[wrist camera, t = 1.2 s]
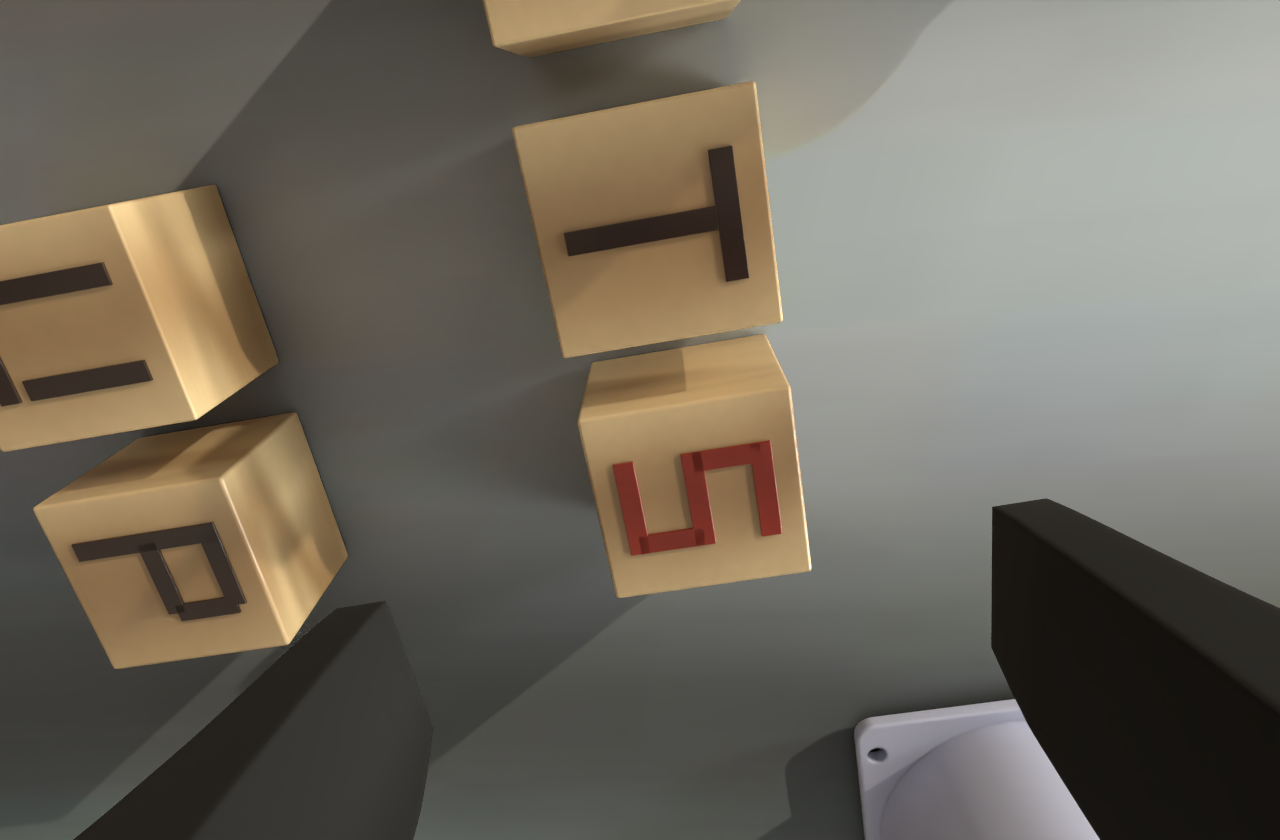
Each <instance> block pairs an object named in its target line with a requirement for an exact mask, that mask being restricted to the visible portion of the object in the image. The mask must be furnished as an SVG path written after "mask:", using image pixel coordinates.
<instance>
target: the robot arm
mask: <svg viewBox="0 0 1280 840" xmlns="http://www.w3.org/2000/svg"><path fill="white" fill-rule="evenodd" d="M991 647H992V650H993V652H994V654H995V656H996V658H997V661H998V663H999V665H1000V667H1001V669H1002V672H1003V674H1004V676H1005V678H1006V680H1007V683H1008V685H1009V687H1010V689H1011V691H1012V693H1013V695H1014V697H1015V699H1011V700H1003V701H995V702H987V703H979V704H971V705H964V706H956V707H948V708H940V709H932V710H924V711H916V712H908V713H900V714H892V715H884V716H877V717H870V718H867V719H864V720H862V721H861V722H859V723H858V724H857V726H856V727H855V731H854V739H855V749H856V758H857V768H858V778H859V788H860V798H861V807H862V817H863V827H864V837H865V840H1280V608H1278V607H1276V606H1274V605H1271V604H1269V603H1267V602H1265V601H1262V600H1260V599H1258V598H1256V597H1254V596H1251V595H1249V594H1247V593H1245V592H1243V591H1240V590H1238V589H1236V588H1234V587H1232V586H1230V585H1228V584H1225V583H1223V582H1221V581H1219V580H1217V579H1215V578H1213V577H1211V576H1208V575H1206V574H1204V573H1202V572H1200V571H1198V570H1196V569H1194V568H1192V567H1190V566H1188V565H1185V564H1183V563H1181V562H1179V561H1177V560H1175V559H1173V558H1171V557H1169V556H1167V555H1165V554H1163V553H1161V552H1159V551H1157V550H1155V549H1153V548H1151V547H1149V546H1147V545H1144V544H1142V543H1140V542H1138V541H1136V540H1134V539H1132V538H1130V537H1128V536H1126V535H1124V534H1122V533H1120V532H1118V531H1116V530H1114V529H1112V528H1110V527H1108V526H1106V525H1104V524H1102V523H1100V522H1098V521H1096V520H1093V519H1091V518H1089V517H1087V516H1085V515H1083V514H1081V513H1079V512H1077V511H1075V510H1072V509H1070V508H1068V507H1066V506H1063V505H1061V504H1059V503H1056V502H1054V501H1051V500H1049V499H1040V500H1034V501H1027V502H1021V503H1014V504H1008V505H1001V506H995V507H992V636H991ZM432 733H433V727H432V724H431V721H430V718H429V716H428V713H427V710H426V708H425V705H424V702H423V700H422V697H421V694H420V692H419V689H418V686H417V684H416V681H415V678H414V676H413V673H412V670H411V668H410V665H409V662H408V659H407V657H406V654H405V651H404V649H403V646H402V643H401V641H400V638H399V635H398V633H397V630H396V627H395V625H394V622H393V619H392V617H391V614H390V611H389V608H388V606H387V603H386V601H383V602H377V603H370V604H364V605H357V606H351V607H344V608H338V609H336V610H335V611H333V612H332V613H331V614H330V615H328V616H327V617H326V618H325V619H323V620H322V621H321V622H320V623H319V624H317V625H316V626H315V627H314V628H313V629H312V630H310V631H309V632H308V633H307V634H306V635H305V636H304V637H303V638H301V639H300V640H299V641H298V642H297V643H296V644H295V645H294V646H293V647H292V648H290V649H289V650H288V651H287V652H286V653H285V654H284V655H283V656H282V657H281V658H280V659H279V660H277V661H276V662H275V663H274V664H273V665H272V666H271V667H270V668H269V669H268V670H267V671H266V672H264V673H263V674H262V675H261V676H260V677H259V678H258V679H257V680H256V681H255V682H254V683H253V684H252V685H250V686H249V687H248V688H247V689H246V690H245V691H244V692H243V693H242V694H241V695H240V696H238V697H237V698H236V699H235V700H234V701H233V702H232V703H231V704H230V705H229V706H228V707H226V708H225V709H224V710H223V711H222V712H221V713H220V714H219V715H218V716H217V717H216V718H214V719H213V720H212V721H211V722H210V723H209V724H208V725H207V726H206V727H205V728H204V729H203V730H201V731H200V732H199V733H198V734H197V735H196V736H195V737H194V738H193V739H191V740H190V741H189V742H188V743H187V744H186V745H184V746H183V747H182V748H181V749H180V750H179V751H177V752H176V753H175V754H174V755H173V756H172V757H171V758H169V759H168V760H167V761H166V762H165V763H164V764H162V765H161V766H160V767H159V768H158V769H157V770H155V771H154V772H153V773H152V774H151V775H150V776H148V777H147V778H146V779H145V780H144V781H143V782H141V783H140V784H139V785H138V786H137V787H136V788H135V789H133V790H132V791H131V792H130V793H129V794H128V795H126V796H125V797H124V798H123V799H122V800H121V801H119V802H118V803H117V804H116V805H115V806H114V807H112V808H111V809H110V810H109V811H108V812H107V813H105V814H104V815H103V816H102V817H101V818H99V819H98V820H97V821H96V822H94V823H93V824H92V825H91V826H90V827H88V828H87V829H86V830H85V831H83V832H82V833H81V834H80V835H78V836H77V837H76V838H75V839H73V840H413V838H414V834H415V831H416V827H417V823H418V819H419V816H420V812H421V807H422V801H423V795H424V789H425V783H426V777H427V770H428V763H429V755H430V748H431V741H432ZM874 748H881V749H880V750H879V751H876V752H869V751H870V750H871V749H874Z"/></svg>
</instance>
